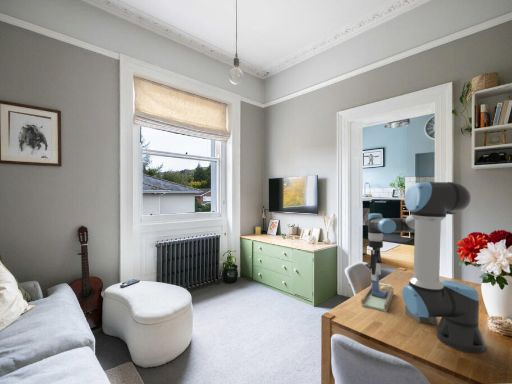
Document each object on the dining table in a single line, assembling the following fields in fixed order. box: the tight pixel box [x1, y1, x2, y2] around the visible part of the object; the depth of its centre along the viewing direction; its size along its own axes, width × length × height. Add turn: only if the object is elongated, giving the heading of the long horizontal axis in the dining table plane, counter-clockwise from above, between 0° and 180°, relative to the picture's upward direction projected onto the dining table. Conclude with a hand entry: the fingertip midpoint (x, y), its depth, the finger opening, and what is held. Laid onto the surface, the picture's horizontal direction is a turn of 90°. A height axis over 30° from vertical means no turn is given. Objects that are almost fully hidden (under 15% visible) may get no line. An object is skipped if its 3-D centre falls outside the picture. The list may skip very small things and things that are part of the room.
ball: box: [380, 286, 388, 291], centre depth 148 cm, size 4×4×4 cm
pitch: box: [360, 282, 394, 313], centre depth 141 cm, size 27×12×6 cm, turn 145°
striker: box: [371, 271, 387, 298], centre depth 144 cm, size 6×7×14 cm
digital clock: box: [404, 304, 439, 325], centre depth 121 cm, size 16×9×11 cm, turn 179°
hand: (376, 277), depth 144 cm, fingers open, 13 cm apart
